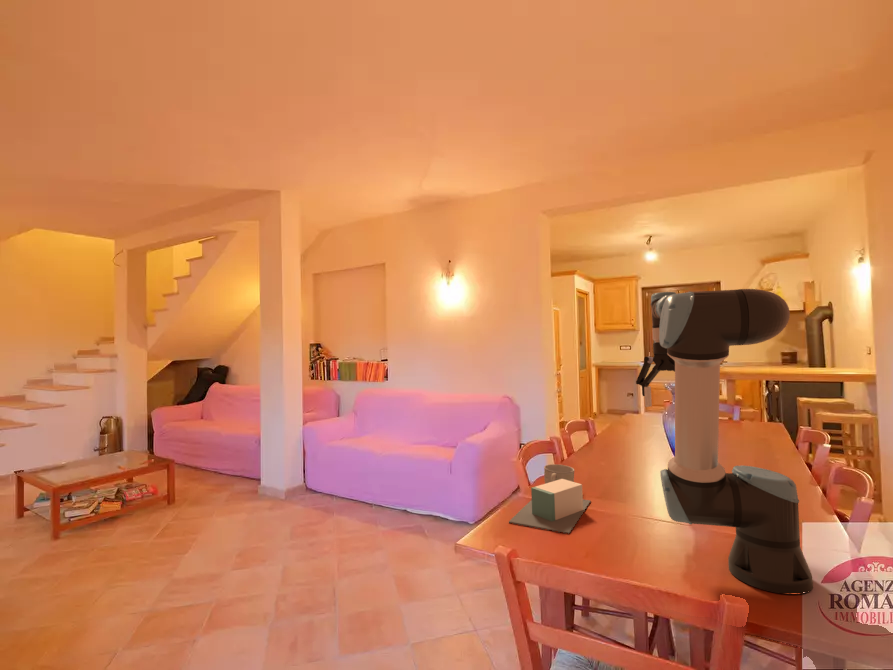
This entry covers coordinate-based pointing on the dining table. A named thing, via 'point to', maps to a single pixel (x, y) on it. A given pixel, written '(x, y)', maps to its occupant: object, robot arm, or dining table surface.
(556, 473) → the teacup
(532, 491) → the green and white block
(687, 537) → the dining table surface
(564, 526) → the rubber mat
